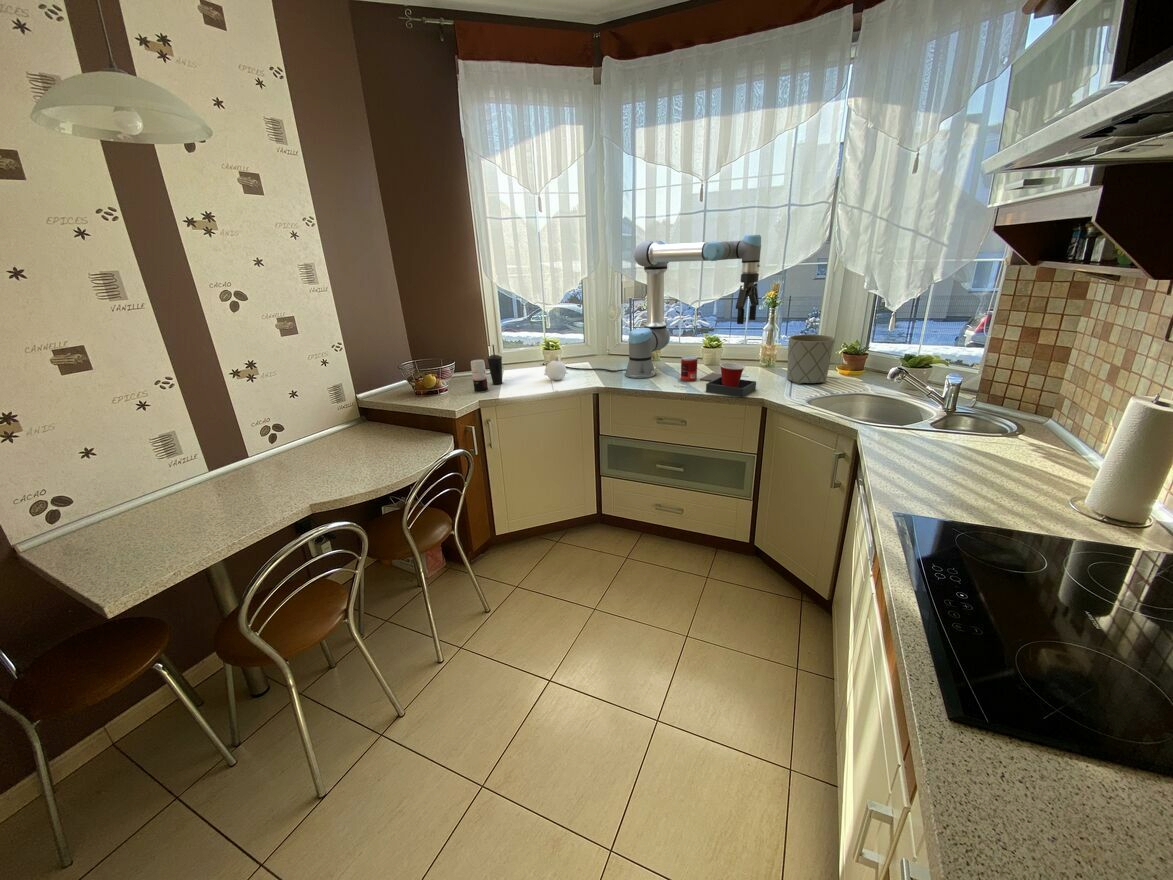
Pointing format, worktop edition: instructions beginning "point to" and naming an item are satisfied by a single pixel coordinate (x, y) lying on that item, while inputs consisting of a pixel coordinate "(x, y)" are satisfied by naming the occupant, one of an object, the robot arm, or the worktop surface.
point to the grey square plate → (711, 377)
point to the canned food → (688, 368)
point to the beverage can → (479, 376)
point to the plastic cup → (731, 374)
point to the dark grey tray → (731, 388)
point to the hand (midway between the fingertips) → (746, 322)
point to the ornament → (556, 369)
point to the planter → (809, 358)
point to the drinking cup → (495, 368)
